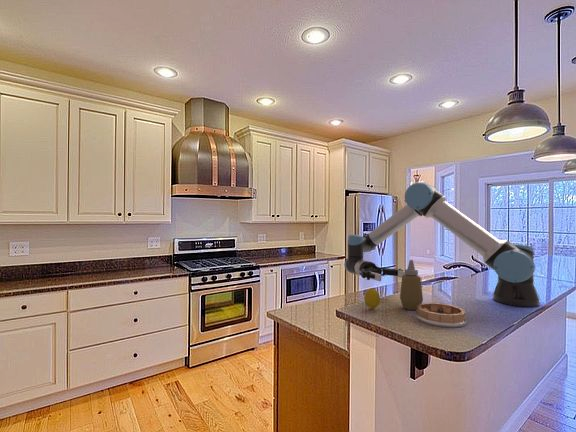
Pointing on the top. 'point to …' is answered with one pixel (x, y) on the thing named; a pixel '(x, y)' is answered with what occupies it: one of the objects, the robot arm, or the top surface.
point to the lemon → (372, 298)
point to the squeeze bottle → (411, 288)
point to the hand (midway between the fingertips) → (394, 277)
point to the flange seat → (441, 315)
